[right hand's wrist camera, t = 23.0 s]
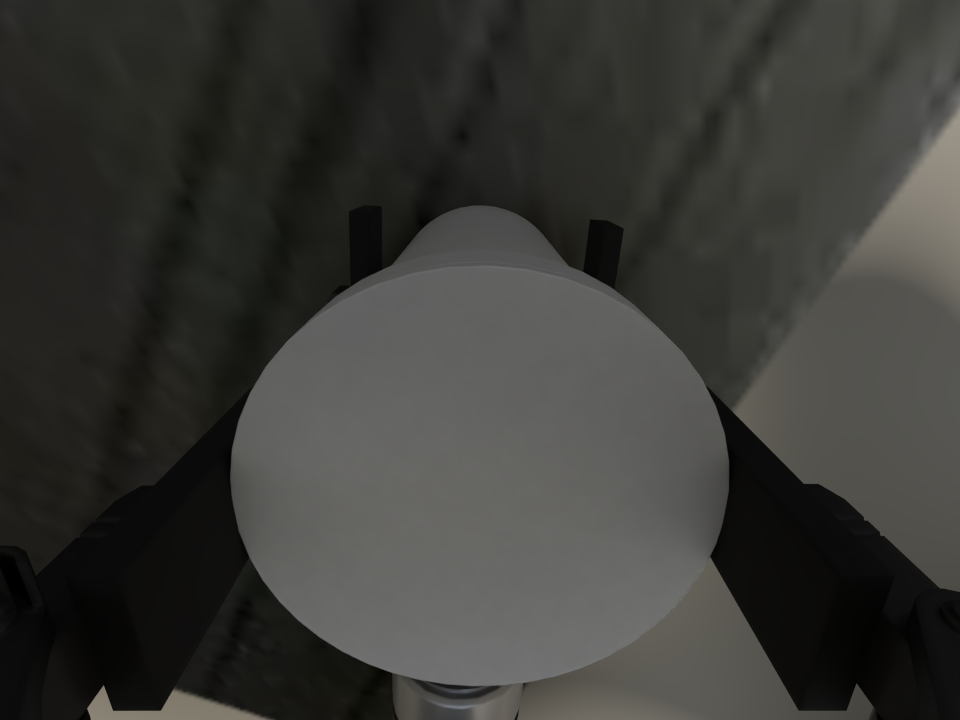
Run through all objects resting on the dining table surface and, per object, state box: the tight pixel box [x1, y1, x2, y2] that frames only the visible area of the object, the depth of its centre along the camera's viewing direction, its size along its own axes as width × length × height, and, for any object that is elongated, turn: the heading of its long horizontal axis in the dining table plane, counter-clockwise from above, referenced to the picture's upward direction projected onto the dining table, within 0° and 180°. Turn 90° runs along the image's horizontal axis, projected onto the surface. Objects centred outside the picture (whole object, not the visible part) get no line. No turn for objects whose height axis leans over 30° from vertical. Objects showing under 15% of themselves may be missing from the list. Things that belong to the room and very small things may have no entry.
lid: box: [230, 250, 729, 686], centre depth 12 cm, size 10×10×2 cm
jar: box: [392, 205, 568, 266], centre depth 20 cm, size 9×9×19 cm
